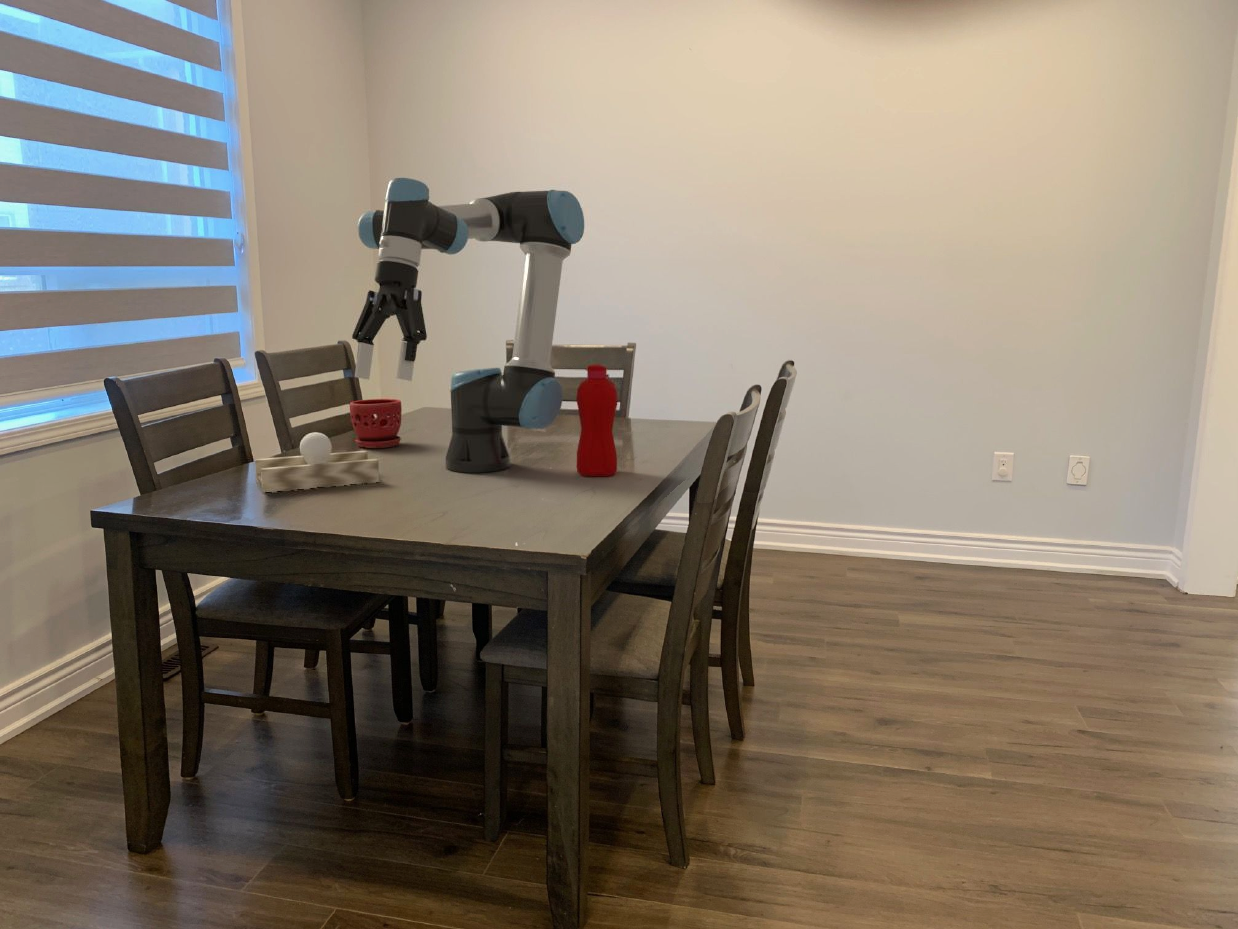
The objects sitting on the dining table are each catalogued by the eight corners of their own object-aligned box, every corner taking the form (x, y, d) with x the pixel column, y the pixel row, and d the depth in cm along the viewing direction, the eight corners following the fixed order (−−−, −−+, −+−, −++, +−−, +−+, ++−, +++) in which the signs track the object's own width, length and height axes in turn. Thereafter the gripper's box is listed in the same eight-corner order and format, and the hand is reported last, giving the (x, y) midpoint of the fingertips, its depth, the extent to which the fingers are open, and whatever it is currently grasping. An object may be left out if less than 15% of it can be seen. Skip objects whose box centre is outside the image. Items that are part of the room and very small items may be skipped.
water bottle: (625, 477, 215) (626, 366, 210) (577, 477, 214) (577, 366, 209) (622, 469, 224) (623, 362, 219) (576, 469, 223) (575, 362, 218)
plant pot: (410, 442, 256) (408, 398, 253) (390, 451, 243) (388, 404, 241) (365, 440, 258) (362, 396, 255) (343, 449, 245) (340, 403, 243)
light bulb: (296, 482, 207) (292, 432, 205) (323, 477, 212) (320, 428, 210) (311, 487, 203) (308, 436, 201) (339, 482, 208) (336, 432, 205)
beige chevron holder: (366, 471, 218) (365, 450, 217) (379, 482, 208) (378, 460, 207) (256, 481, 207) (254, 459, 206) (263, 493, 197) (261, 469, 196)
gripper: (343, 263, 180) (328, 374, 179) (421, 254, 163) (405, 376, 163) (377, 273, 185) (362, 380, 185) (456, 265, 169) (440, 383, 168)
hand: (382, 379), depth 174 cm, fingers open, 13 cm apart
